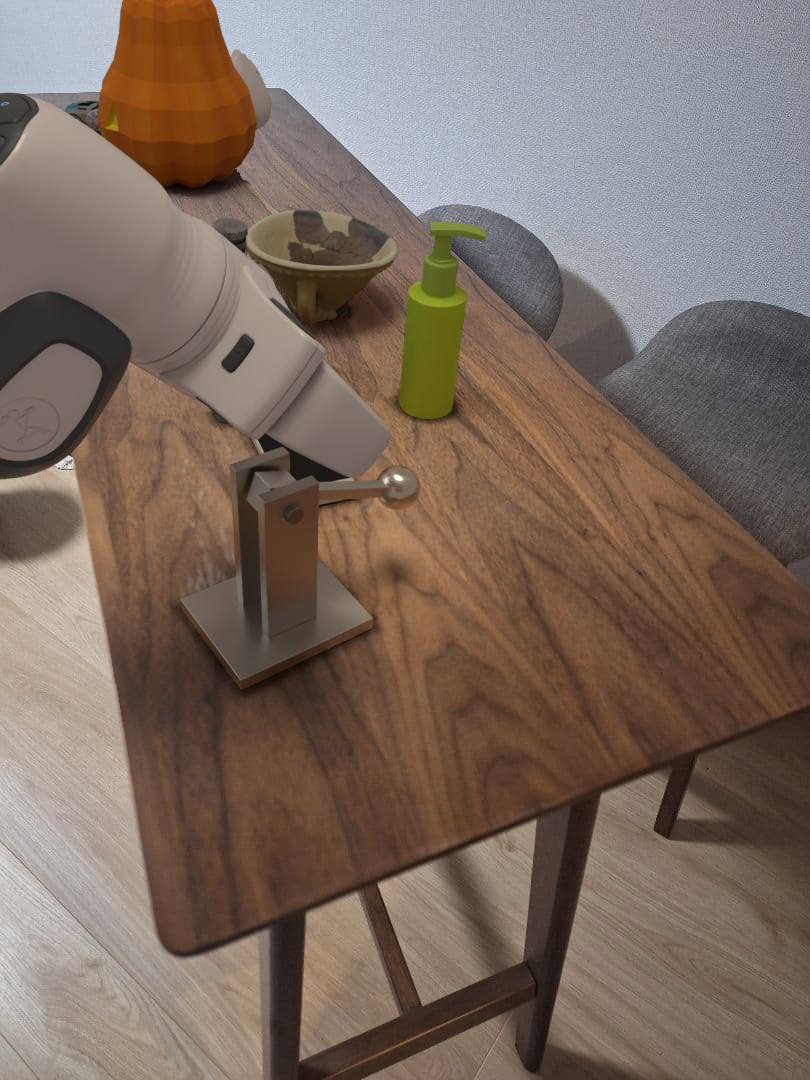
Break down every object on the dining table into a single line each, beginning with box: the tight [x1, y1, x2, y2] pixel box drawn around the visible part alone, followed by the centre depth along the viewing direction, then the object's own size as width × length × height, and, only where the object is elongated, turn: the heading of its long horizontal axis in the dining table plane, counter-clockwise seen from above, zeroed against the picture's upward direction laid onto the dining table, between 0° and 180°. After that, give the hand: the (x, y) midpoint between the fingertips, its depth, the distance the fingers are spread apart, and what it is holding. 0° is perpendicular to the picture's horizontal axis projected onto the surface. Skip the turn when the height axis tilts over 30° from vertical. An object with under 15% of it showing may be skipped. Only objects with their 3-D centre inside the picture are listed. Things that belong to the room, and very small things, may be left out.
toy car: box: [63, 99, 100, 132], centre depth 154 cm, size 7×17×5 cm, turn 80°
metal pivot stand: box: [179, 447, 374, 691], centre depth 69 cm, size 12×10×15 cm
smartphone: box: [250, 433, 355, 506], centre depth 90 cm, size 7×15×1 cm, turn 23°
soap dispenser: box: [398, 221, 487, 420], centre depth 93 cm, size 6×7×20 cm
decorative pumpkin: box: [97, 0, 257, 189], centre depth 134 cm, size 24×24×30 cm
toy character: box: [230, 48, 273, 131], centre depth 159 cm, size 10×10×12 cm
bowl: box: [246, 209, 399, 325], centre depth 111 cm, size 18×18×10 cm
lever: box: [247, 465, 421, 512], centre depth 70 cm, size 15×4×4 cm, turn 127°
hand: (336, 413), depth 64 cm, fingers closed
